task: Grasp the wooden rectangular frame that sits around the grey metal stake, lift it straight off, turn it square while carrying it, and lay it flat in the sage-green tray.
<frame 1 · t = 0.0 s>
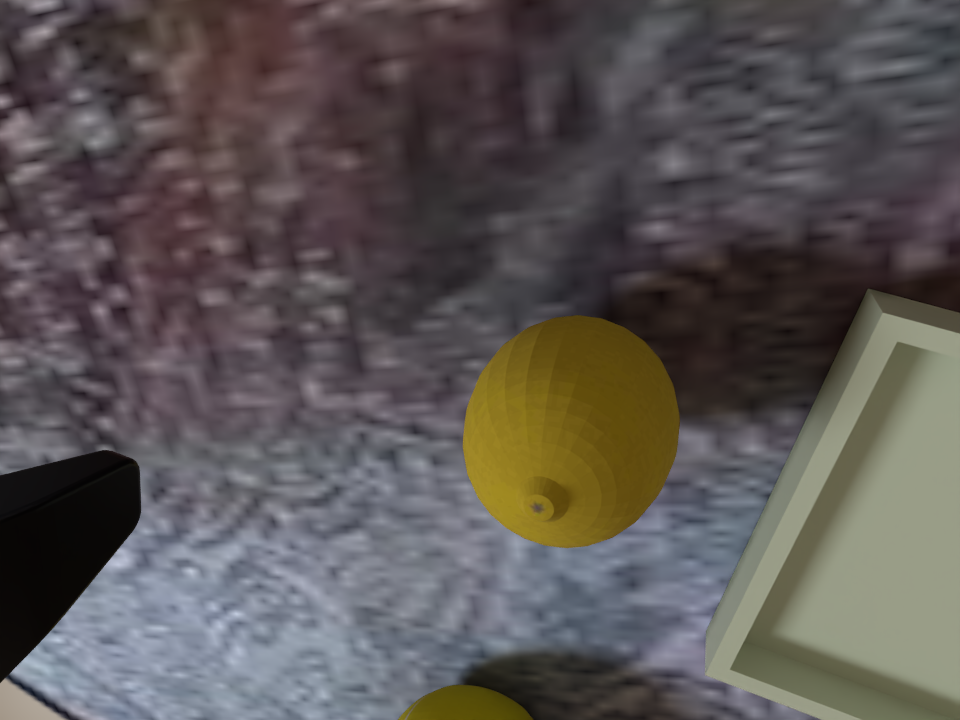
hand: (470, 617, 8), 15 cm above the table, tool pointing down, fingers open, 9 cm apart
tennis ball: (491, 709, 30), on the table
lemon: (595, 362, 23), on the table
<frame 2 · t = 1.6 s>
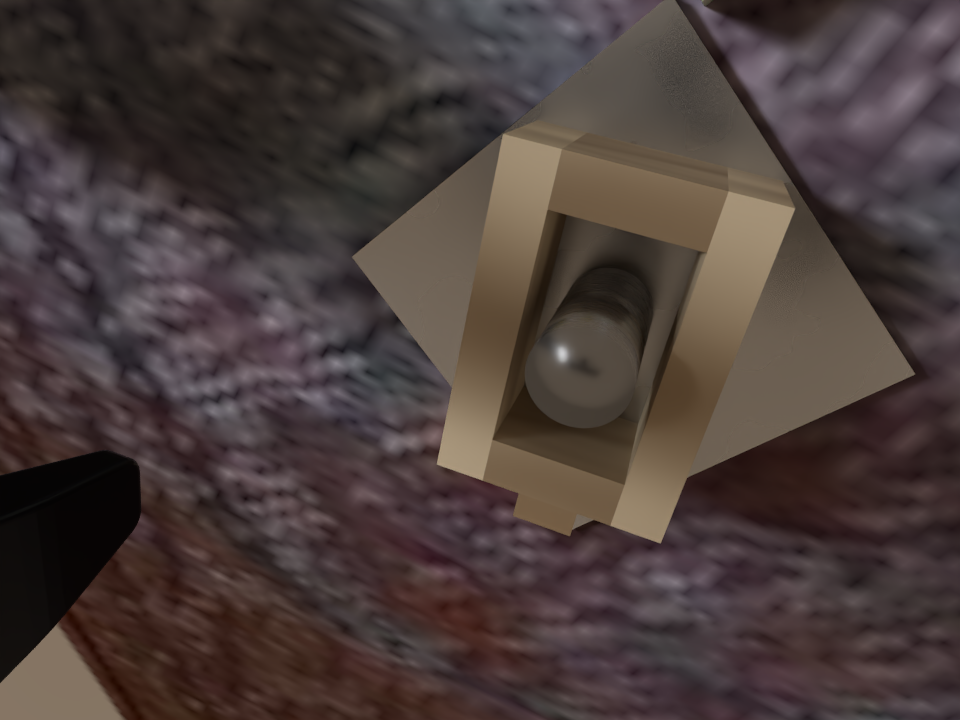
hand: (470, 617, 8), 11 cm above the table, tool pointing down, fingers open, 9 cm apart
stake: (610, 305, 18), on the table
wooden rectangular frame: (608, 310, 18), resting on stake
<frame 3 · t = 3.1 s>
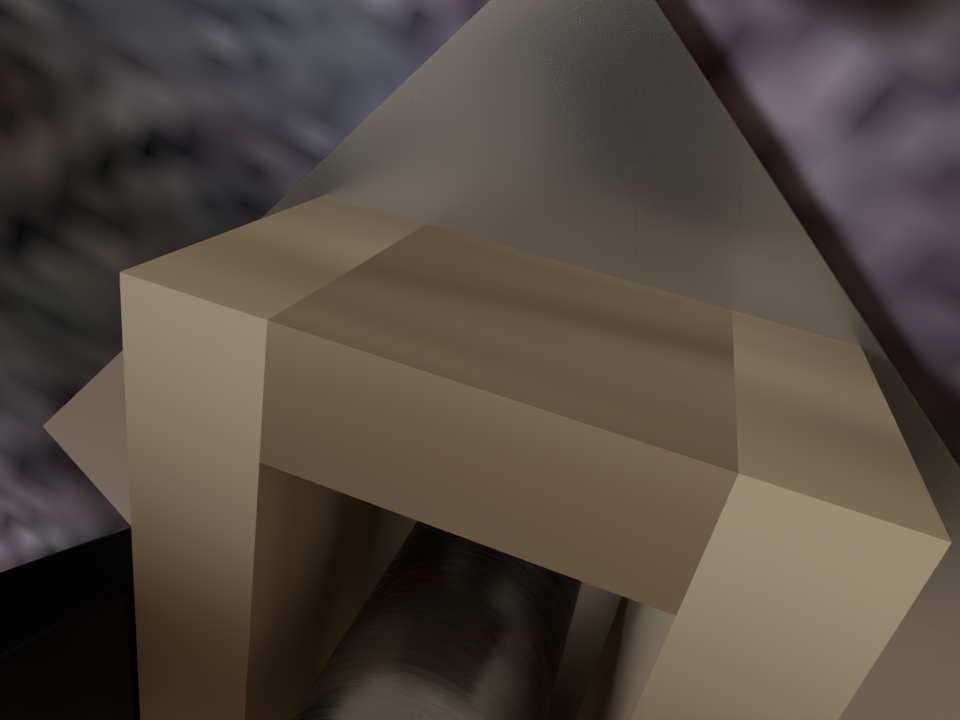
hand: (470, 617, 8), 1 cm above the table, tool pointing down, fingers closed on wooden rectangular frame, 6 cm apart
stake: (503, 541, 9), on the table
wooden rectangular frame: (495, 560, 9), resting on stake, touching gripper
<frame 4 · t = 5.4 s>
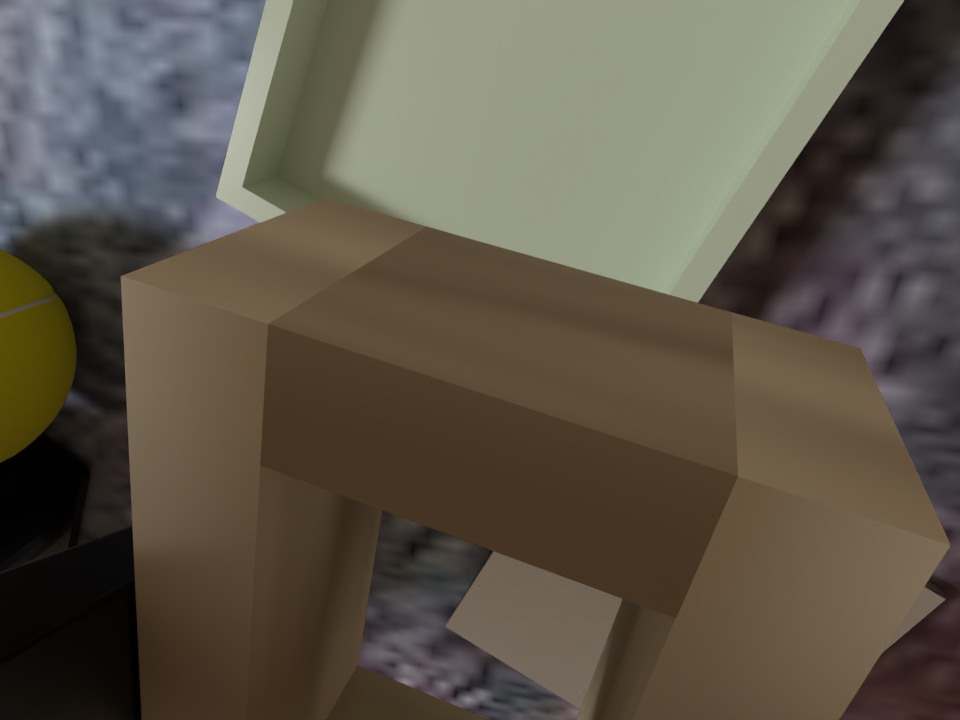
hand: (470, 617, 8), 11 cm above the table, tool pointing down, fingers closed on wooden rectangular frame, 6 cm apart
tennis ball: (42, 313, 24), on the table
stake: (662, 605, 21), on the table
tray: (551, 37, 16), on the table
wooden rectangular frame: (495, 562, 9), point 10 cm above the table, touching gripper
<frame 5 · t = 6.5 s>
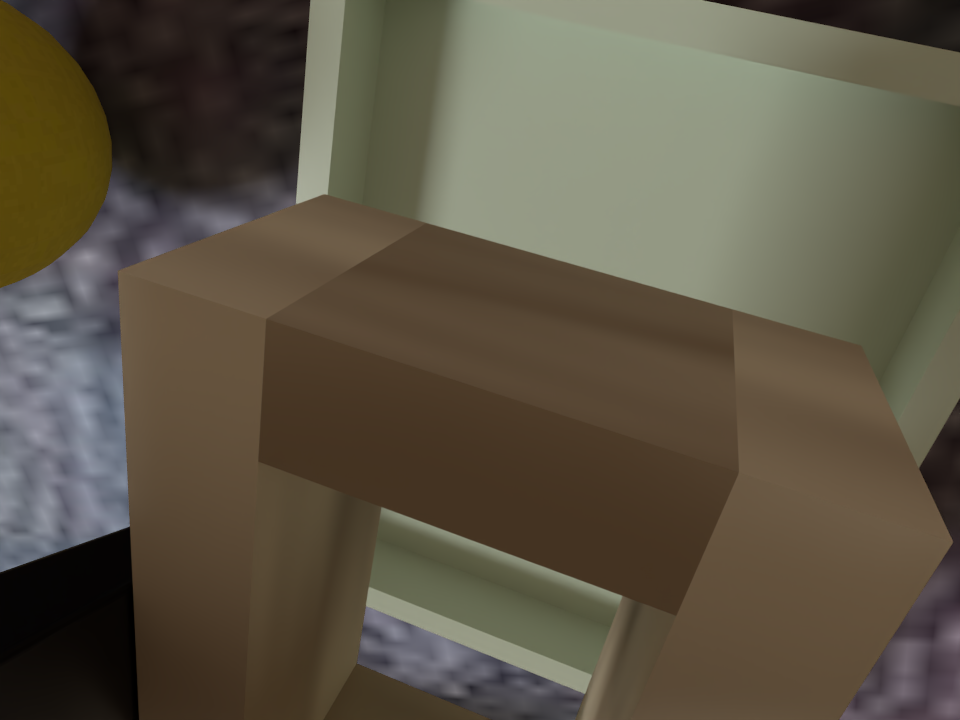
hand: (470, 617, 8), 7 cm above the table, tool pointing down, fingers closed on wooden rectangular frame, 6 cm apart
lemon: (94, 120, 16), on the table
tray: (584, 361, 14), on the table
wooden rectangular frame: (495, 560, 9), point 6 cm above the table, touching gripper
when the fingers open (3 cm above the table, at t = 7.6 s): wooden rectangular frame drops 2 cm, resting on tray.
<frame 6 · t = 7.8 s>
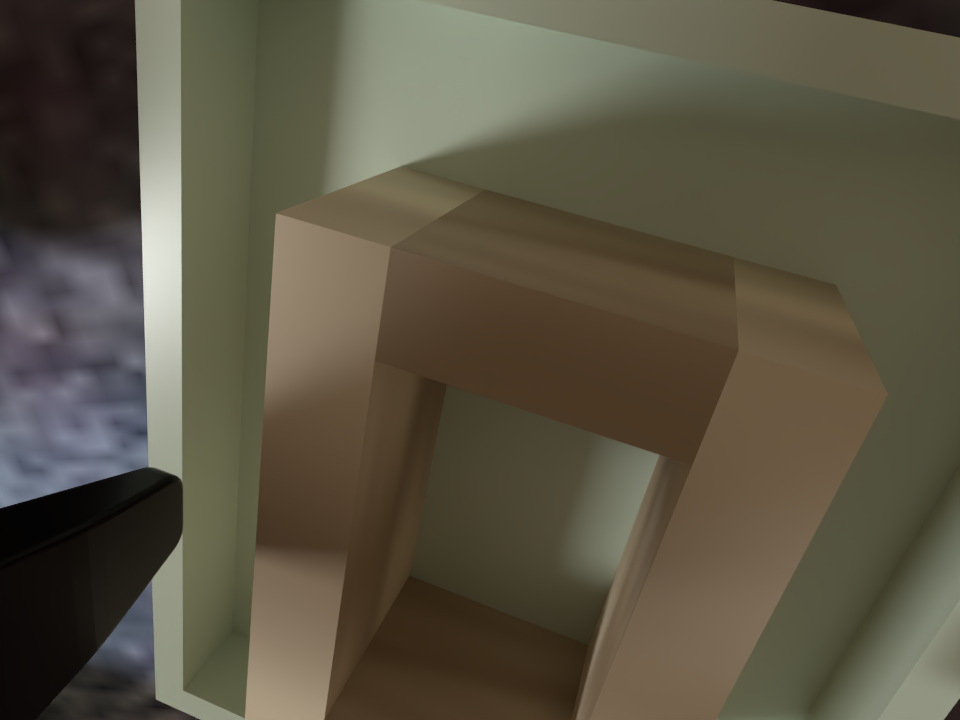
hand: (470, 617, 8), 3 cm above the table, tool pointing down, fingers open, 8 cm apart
tray: (540, 458, 11), on the table
wooden rectangular frame: (533, 477, 11), resting on tray
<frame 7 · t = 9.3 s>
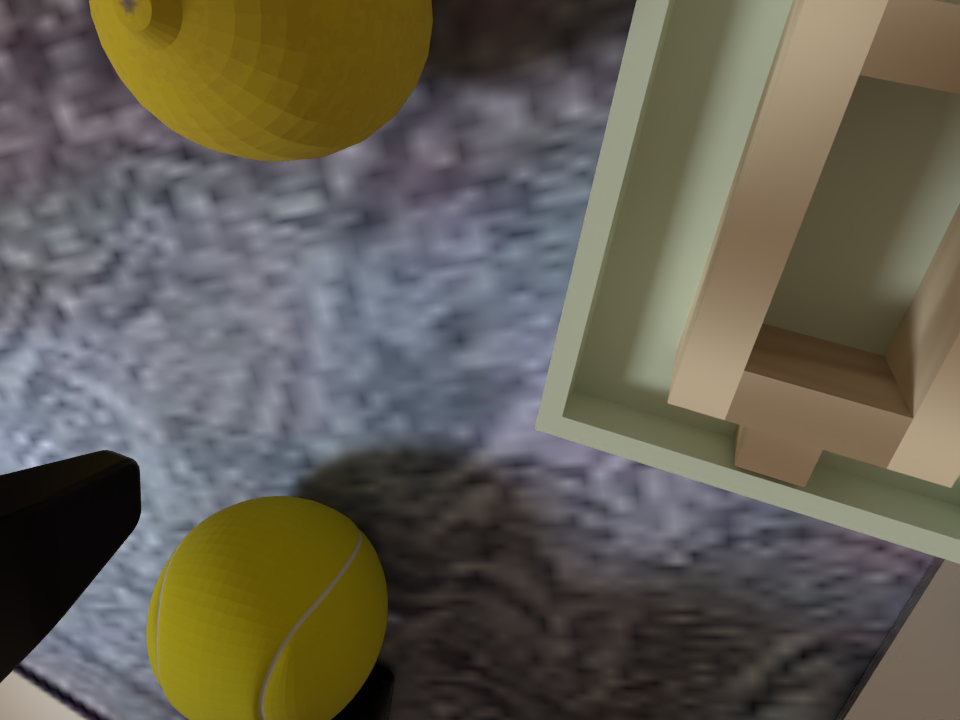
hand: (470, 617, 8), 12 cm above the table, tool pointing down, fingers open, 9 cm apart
tennis ball: (331, 538, 25), on the table
lemon: (375, 14, 17), on the table
tray: (858, 214, 16), on the table
wooden rectangular frame: (861, 220, 15), resting on tray
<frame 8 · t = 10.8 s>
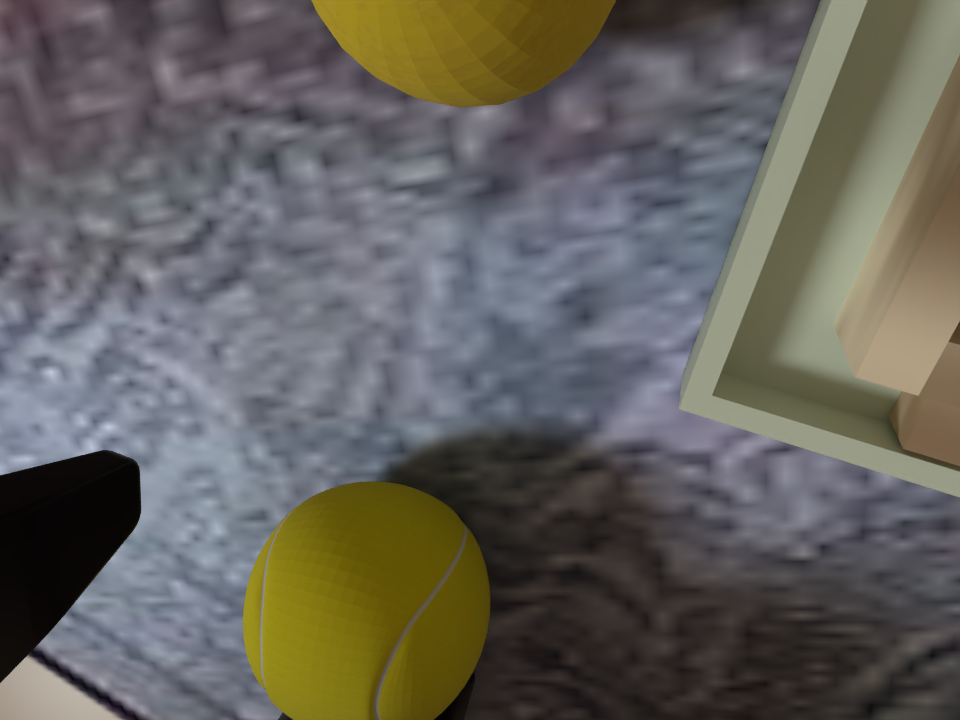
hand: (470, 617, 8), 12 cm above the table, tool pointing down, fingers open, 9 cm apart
tennis ball: (417, 529, 24), on the table
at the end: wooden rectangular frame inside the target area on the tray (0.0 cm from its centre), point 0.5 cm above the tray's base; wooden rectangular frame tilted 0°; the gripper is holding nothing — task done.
